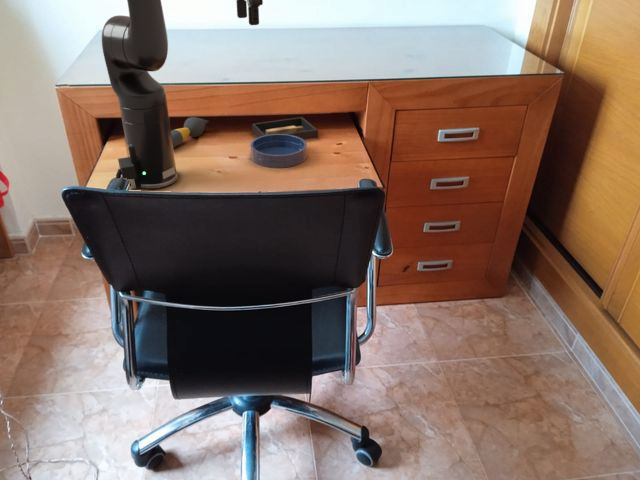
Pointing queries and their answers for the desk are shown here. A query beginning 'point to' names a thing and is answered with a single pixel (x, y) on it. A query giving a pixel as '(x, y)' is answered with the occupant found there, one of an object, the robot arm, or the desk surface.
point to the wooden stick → (284, 130)
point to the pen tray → (307, 131)
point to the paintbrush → (188, 130)
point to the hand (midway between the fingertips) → (248, 21)
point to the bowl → (278, 150)
